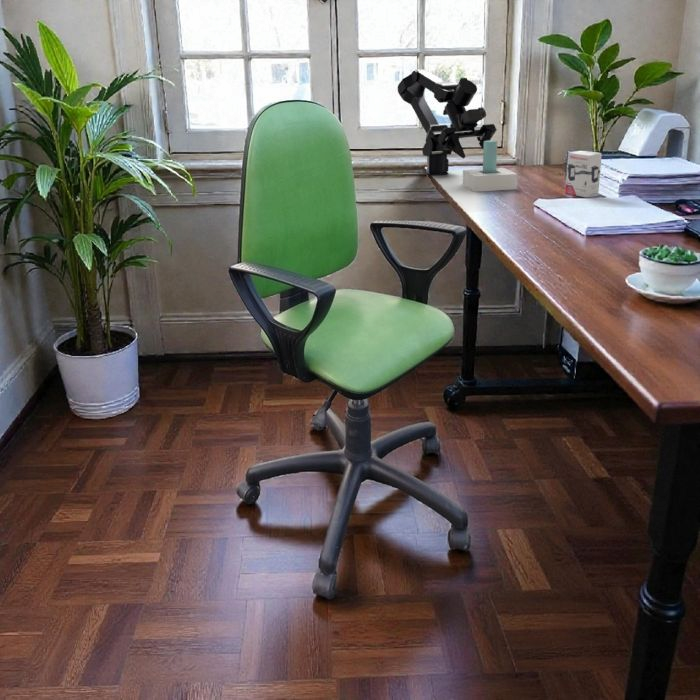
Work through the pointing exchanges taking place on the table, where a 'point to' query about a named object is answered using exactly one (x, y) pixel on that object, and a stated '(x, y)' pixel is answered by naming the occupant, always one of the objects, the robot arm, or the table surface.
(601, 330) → the table surface
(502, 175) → the socket block
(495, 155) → the pin
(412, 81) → the robot arm
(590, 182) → the ink box
